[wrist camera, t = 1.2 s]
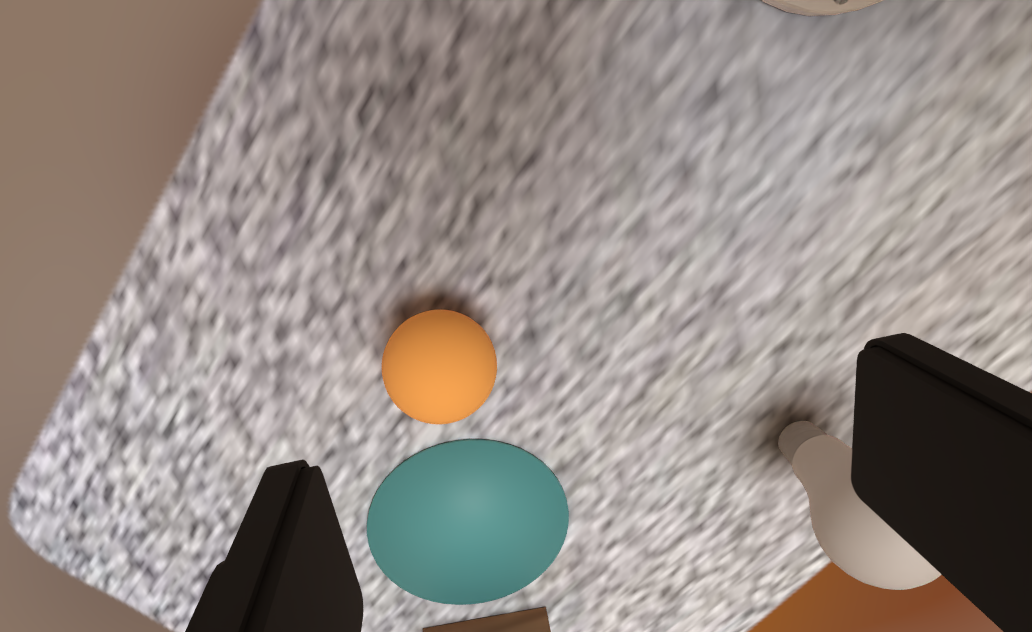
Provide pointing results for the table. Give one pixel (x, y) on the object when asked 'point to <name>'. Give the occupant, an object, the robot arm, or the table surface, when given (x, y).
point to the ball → (439, 366)
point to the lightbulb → (849, 514)
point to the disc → (467, 521)
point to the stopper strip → (501, 623)
